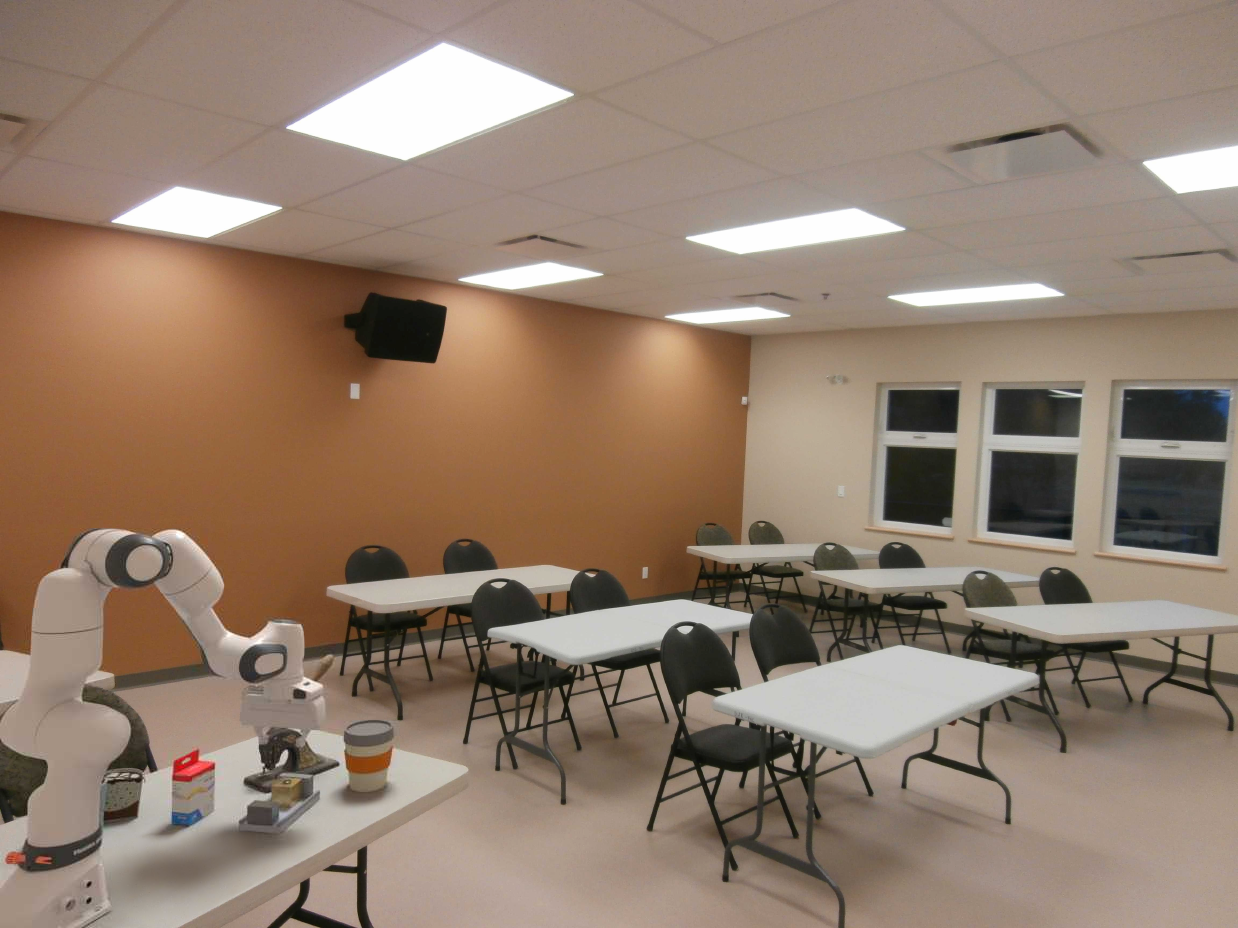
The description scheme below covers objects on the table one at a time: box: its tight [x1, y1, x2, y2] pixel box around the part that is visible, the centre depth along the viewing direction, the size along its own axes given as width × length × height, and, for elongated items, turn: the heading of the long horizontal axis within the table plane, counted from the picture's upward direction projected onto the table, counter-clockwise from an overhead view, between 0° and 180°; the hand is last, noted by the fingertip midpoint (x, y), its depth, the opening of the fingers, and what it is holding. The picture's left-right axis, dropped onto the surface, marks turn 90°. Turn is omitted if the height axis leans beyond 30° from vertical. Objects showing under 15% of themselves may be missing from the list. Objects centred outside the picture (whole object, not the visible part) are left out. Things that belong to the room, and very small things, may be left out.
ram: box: [246, 799, 279, 826], centre depth 180 cm, size 4×6×4 cm
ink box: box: [171, 748, 216, 827], centre depth 184 cm, size 8×5×15 cm, turn 168°
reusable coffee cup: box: [342, 718, 395, 793], centre depth 204 cm, size 12×13×15 cm
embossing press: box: [243, 653, 340, 792], centre depth 209 cm, size 11×24×30 cm, turn 145°
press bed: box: [238, 773, 321, 835], centre depth 186 cm, size 18×10×6 cm, turn 173°
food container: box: [103, 767, 147, 823], centre depth 184 cm, size 12×6×10 cm, turn 113°
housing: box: [270, 777, 302, 808], centre depth 189 cm, size 5×5×5 cm
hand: (281, 744), depth 187 cm, fingers open, 8 cm apart
